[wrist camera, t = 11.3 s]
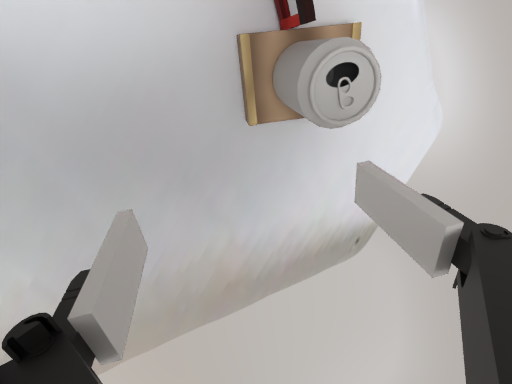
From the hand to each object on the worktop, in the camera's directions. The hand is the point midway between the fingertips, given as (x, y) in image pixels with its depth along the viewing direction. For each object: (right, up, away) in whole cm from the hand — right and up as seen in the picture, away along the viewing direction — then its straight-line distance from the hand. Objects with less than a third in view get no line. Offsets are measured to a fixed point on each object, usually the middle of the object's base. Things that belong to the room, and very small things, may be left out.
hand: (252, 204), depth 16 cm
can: (+6, +15, +17) cm, 23 cm away
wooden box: (+5, +16, +20) cm, 26 cm away
